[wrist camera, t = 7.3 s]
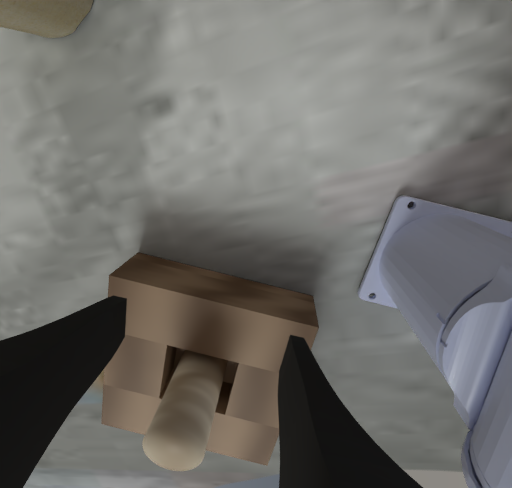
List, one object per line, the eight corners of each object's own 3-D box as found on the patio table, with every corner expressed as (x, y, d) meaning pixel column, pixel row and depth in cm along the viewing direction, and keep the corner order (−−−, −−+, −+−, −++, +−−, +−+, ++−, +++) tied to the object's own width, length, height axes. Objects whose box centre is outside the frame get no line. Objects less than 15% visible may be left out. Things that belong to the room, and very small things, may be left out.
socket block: (312, 296, 22) (318, 327, 19) (269, 420, 27) (267, 465, 24) (138, 252, 22) (109, 275, 19) (126, 384, 27) (101, 423, 24)
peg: (227, 335, 23) (201, 429, 16) (230, 370, 24) (206, 473, 17) (184, 333, 23) (137, 424, 16) (188, 368, 25) (147, 468, 17)
